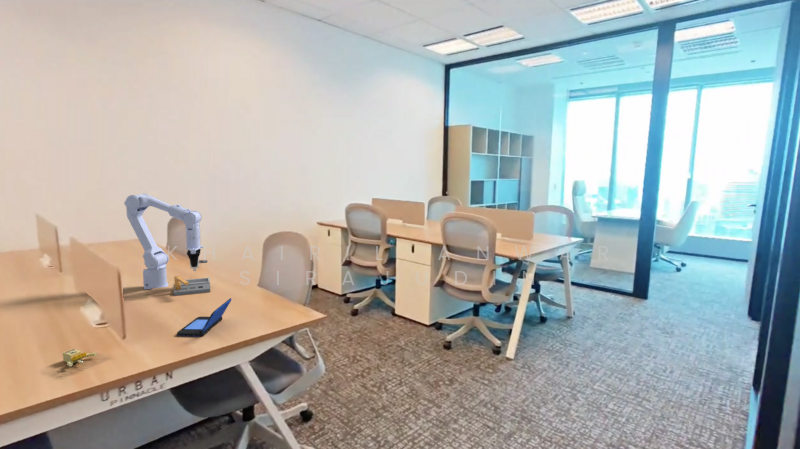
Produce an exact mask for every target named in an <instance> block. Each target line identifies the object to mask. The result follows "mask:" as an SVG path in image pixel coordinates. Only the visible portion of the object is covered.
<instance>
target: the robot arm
mask: <svg viewBox="0 0 800 449" xmlns="http://www.w3.org/2000/svg"><path fill="white" fill-rule="evenodd" d="M123 203H124V205H125V207H126V217H127V219H128V221H129V223H130V225H131V227H132V229H133V231H134V233H135V235H136V237H137V239H138V241H139V242H140V245H141V246H142V248H143V250H144V253H143V255H142V258H143V259H144V260H143V262H144V265H145V267H146V268H144V269H143V270H142V271H143V272H142V275H143V276H142V277H143V290H153V289H156V288H157V289H160V288H167V287H169V282H168V279H167V276H168V274H167V264H168V263H169V259H170V258H169V255H168V254H167V253H166V252H165V251H164V250H163V248H162V247H159V246H158V245H157V243H156V241H155V239H154V237H153V234H152V233H151V231H150V229H149V226H148V225H147V223H146V221H145V219H144V217H143V214H144V212H145V211H146V210H147V209H148V208H149V207H153V208H155V209H159V210H161V211H164V212H167V213H168V214H169V216H170V217H172V218H175V219H177V220H180V221H182V222H183V223H184V224H185V225H184V226H185V235H186V236H185V237H186V239H185V242H186V248H185V249H186V250H187V252H186V255H187V256H188V259H189V263H190V262H191V266H192V267H197V263H198V257H200V255H201V249H203V248H204V245H201V230H200V222H201V221H202V214H201V213H200V212H198V211H197V210H192V211H191V208H186V207H183V206H182V205H181V204H179V203H177V204H173V205H171V204H169V203H167V202H165V201H162V200H161V199H158V198H156V197H155V196H153V195H149V194H147V193H141V194H130V195H128V196H127V197H126V199H125V200H124V202H123Z"/></svg>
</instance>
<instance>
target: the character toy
mask: <svg viewBox="0 0 800 449" xmlns="http://www.w3.org/2000/svg"><path fill="white" fill-rule="evenodd" d="M97 356H98V353H97V352H88V353H87V352H82V351H81V350H78V349H76V348H70V349H68V350H66V351H62V359H63V362H65V363H66V365H67V366H68V367H73V365H74V364H75V363H80V364H83V363H84V361H83V358H88V357H97Z"/></svg>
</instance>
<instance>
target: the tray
mask: <svg viewBox="0 0 800 449" xmlns="http://www.w3.org/2000/svg"><path fill="white" fill-rule="evenodd" d="M185 280H186V281H188V282H189V284H188V285H184V284H182V283H181V286H190V285H200V284H210V285H211V281H210V280H211V279H210V277H202V278H193V279H192V278H191V279H190V278H189V279H185Z"/></svg>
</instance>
